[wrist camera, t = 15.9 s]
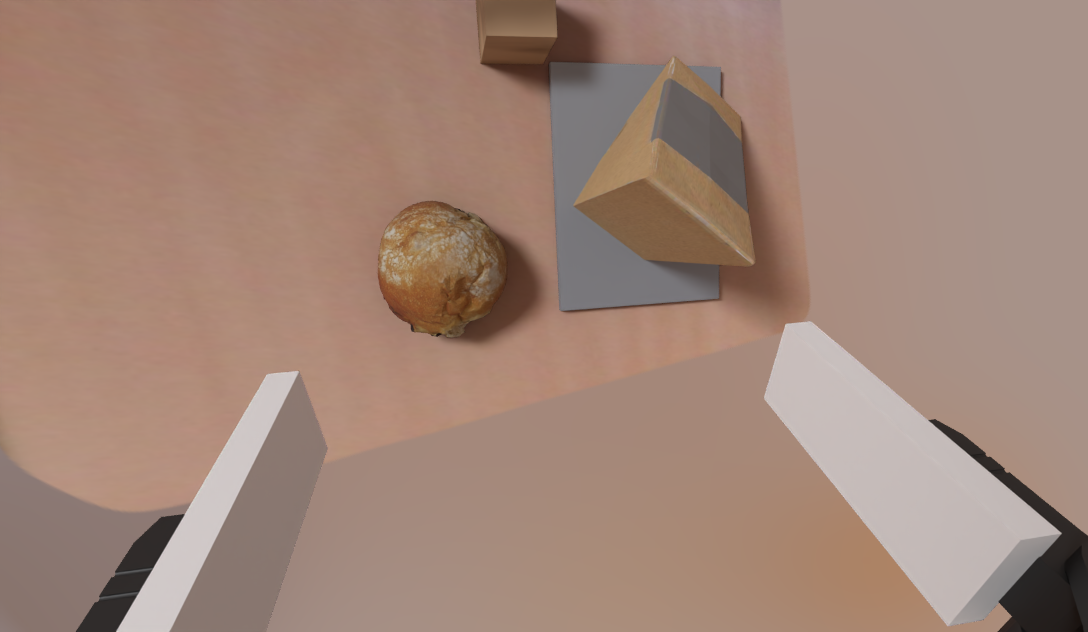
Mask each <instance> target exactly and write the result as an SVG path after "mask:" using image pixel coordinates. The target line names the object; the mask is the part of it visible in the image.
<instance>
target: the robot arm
mask: <svg viewBox="0 0 1088 632" xmlns="http://www.w3.org/2000/svg"><path fill="white" fill-rule="evenodd" d="M764 399H765V400H766V401H767V403H768V404H769V405H770V406H771V408H772V409H773V410H774V411H775V413H776V414H777V415H778V416H779V418H780V419H781V420H782V421H783V423H784V424H785V425H786V426H787V427H788V429H789V430H790V431H791V432H792V434H793V435H794V436H795V437H796V439H797V440H798V441H799V442H800V444H801V445H802V446H803V447H804V448H805V450H806V451H807V452H808V454H809V455H810V456H811V457H812V459H813V460H814V461H815V462H816V463H817V465H818V466H819V467H820V468H821V470H822V471H823V472H824V473H825V475H826V476H827V477H828V478H829V480H830V481H831V482H832V483H833V484H834V486H835V487H836V488H837V490H838V491H839V492H840V493H841V494H842V496H843V497H844V498H845V499H846V501H847V502H848V503H849V504H850V506H851V507H852V508H853V509H854V511H855V512H856V513H857V514H858V516H859V517H860V518H861V519H862V520H863V522H864V523H865V524H866V525H867V527H868V528H869V529H870V530H871V531H872V533H873V534H874V535H875V536H876V538H877V539H878V540H879V542H880V543H881V544H882V545H883V546H884V548H885V549H886V550H887V551H888V553H889V554H890V555H891V556H892V558H893V559H894V560H895V561H896V563H897V564H898V565H899V566H900V567H901V569H902V570H903V571H904V573H905V574H906V575H907V576H908V578H909V579H910V580H911V581H912V583H913V584H914V585H915V586H916V587H917V589H918V590H919V591H920V592H921V594H922V595H923V596H924V597H925V599H926V600H927V601H928V602H929V604H930V605H931V606H932V607H933V608H934V610H935V611H936V612H937V614H938V615H939V616H940V617H941V618H942V620H943V621H944V622H945V623H946V625H947V626H953V625H958V624H964V623H969V622H975V621H981V620H984V618H986V616H987V615H988V614H989V613H990V612H991V611H992V610H993V609H994V608H995V606H996V605H997V604H998V603H1000V604H1001V605H1002V606H1003V607H1004V608H1005V609H1006V610H1007V612H1008V613H1009V614H1010V615H1011V616H1012V617H1011V618H1010V619H1009V621H1007V622H1006V624H1005V625H1004V626H1003V627H1002V628H1001V629H1000V630H999V631H998V632H1088V536H1087V535H1086V534H1085V533H1083V532H1082V531H1081V530H1080V529H1078V528H1077V527H1076V526H1075V525H1073V524H1072V523H1071V522H1070V521H1068V520H1067V519H1066V518H1065V517H1063V516H1062V515H1061V514H1060V513H1059V512H1057V511H1056V510H1055V509H1054V508H1053V507H1051V506H1050V505H1049V504H1048V503H1046V502H1045V501H1044V500H1043V499H1041V498H1040V497H1039V496H1038V495H1037V494H1035V493H1034V492H1033V491H1032V490H1030V489H1029V488H1028V487H1027V486H1026V485H1024V484H1023V483H1022V482H1020V481H1019V480H1018V479H1017V478H1016V477H1014V476H1013V475H1012V474H1011V473H1006V472H1005V470H1004V468H1003V467H1002V466H1001V465H1000V464H998V463H997V462H996V461H995V460H994V459H992V458H991V457H987V456H986V455H985V454H986V453H985V452H984V451H983V450H981V449H980V448H979V447H978V446H976V445H975V444H974V443H973V442H971V441H970V440H969V439H968V438H967V437H965V436H964V435H963V434H961V433H959V432H957V431H956V430H954V429H952V428H950V427H948V426H946V425H944V424H943V423H941V422H939V421H937V420H935V419H934V420H927V419H926V418H925V417H924V416H922V415H921V414H920V413H919V412H917V411H916V410H915V409H914V408H913V407H912V406H911V405H909V404H908V403H907V402H906V401H904V400H903V399H902V398H901V397H900V396H899V395H898V394H896V393H895V392H894V391H893V390H892V389H890V388H889V387H888V386H887V385H886V384H884V383H883V382H882V381H881V380H880V379H879V378H877V377H876V376H875V375H874V374H873V373H871V372H870V371H869V370H868V369H867V368H866V367H864V366H863V365H862V364H861V363H860V362H858V361H857V360H856V359H855V358H854V357H852V356H851V355H850V354H849V353H848V352H847V351H845V350H844V349H843V348H842V347H841V346H839V345H838V344H837V343H836V342H835V341H833V340H832V339H831V338H830V337H829V336H827V334H825V333H824V332H823V331H822V330H820V329H819V328H818V327H817V326H816V325H815V324H813V323H812V322H811V321H810V322H800V323H790V324H786V325H785V328H784V332H783V335H782V339H781V342H780V345H779V349H778V352H777V356H776V359H775V362H774V366H773V369H772V373H771V376H770V380H769V383H768V386H767V389H766V393H765V396H764ZM327 449H328V447H327V445H326V442H325V439H324V437H323V434H322V431H321V428H320V426H319V423H318V420H317V418H316V415H315V412H314V409H313V407H312V404H311V401H310V399H309V396H308V393H307V390H306V388H305V385H304V382H303V380H302V377H301V374H300V372H299V371H294V372H283V373H273V374H267V375H266V377H265V379H264V381H263V382H262V384H261V386H260V387H259V389H258V391H257V392H256V394H255V396H254V398H253V399H252V401H251V403H250V404H249V406H248V408H247V410H246V411H245V413H244V415H243V416H242V418H241V420H240V421H239V423H238V425H237V427H236V428H235V430H234V432H233V433H232V435H231V437H230V439H229V440H228V442H227V444H226V445H225V447H224V449H223V450H222V452H221V454H220V456H219V457H218V459H217V461H216V462H215V464H214V466H213V467H212V469H211V471H210V473H209V474H208V476H207V478H206V479H205V481H204V483H203V485H202V486H201V488H200V490H199V491H198V493H197V495H196V496H195V498H194V500H193V502H192V503H191V505H190V507H189V508H188V510H187V512H186V514H182V515H174V516H166V517H161V518H160V519H159V520H158V521H157V522H156V523H154V524H153V525H152V526H151V527H150V528H149V529H148V530H147V531H146V532H145V533H144V534H143V535H142V536H141V537H140V538H139V539H138V540H136V541H135V542H134V544H133V545H132V547H131V548H130V550H129V551H128V553H127V554H126V556H125V557H124V559H123V560H122V562H121V564H120V565H119V566H118V568H117V570H116V571H115V576H114V577H112V578H111V579H110V580H109V582H108V583H107V585H106V586H105V588H104V589H103V591H102V593H101V594H100V596H99V597H100V599H99V601H98V602H95V603H94V605H93V606H92V608H91V609H90V611H89V613H88V614H87V615H86V617H85V619H84V620H83V622H82V623H81V625H80V626H79V628H78V629H77V631H76V632H266V630H267V627H268V624H269V621H270V618H271V615H272V612H273V609H274V606H275V603H276V600H277V597H278V594H279V591H280V588H281V585H282V582H283V580H284V577H285V573H286V571H287V568H288V565H289V562H290V559H291V555H292V553H293V550H294V547H295V544H296V541H297V538H298V535H299V532H300V529H301V526H302V523H303V520H304V517H305V514H306V511H307V508H308V505H309V502H310V499H311V496H312V493H313V490H314V488H315V484H316V482H317V478H318V475H319V473H320V470H321V467H322V464H323V461H324V458H325V455H326V452H327Z"/></svg>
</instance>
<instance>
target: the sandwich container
mask: <svg viewBox="0 0 1088 632" xmlns="http://www.w3.org/2000/svg"><path fill="white" fill-rule="evenodd" d="M573 206H574V207H575V208H576V209H578V210H579V211H580V212H582V213H583V214H584V215H586V216H587V217H588V218H590V219H591V220H592V221H594V222H595V223H596V224H598V225H599V226H600V227H601V228H603V229H604V230H605V231H607V232H608V233H609V234H610V235H612V236H613V237H615V238H616V239H617V240H619V241H620V242H621V243H623V244H624V245H625V246H627V247H628V248H629V249H631V250H632V251H633V252H635V253H636V254H637V255H639V256H640V257H641V258H643V259H644V260H655V261H669V262H684V263H700V264H715V265H731V266H746V267H751V266H753V265H754V264H755V263H756V260H755V254H754V247H753V240H752V233H751V226H750V219H749V212H748V204H747V194H746V181H745V171H744V160H743V149H742V136H741V117H740V116H739V115H738V114H737V113H736V112H735V111H734V110H733V109H732V108H731V107H730V106H729V105H728V104H727V103H726V102H725V101H724V100H723V99H722V98H721V97H720V96H719V95H718V94H717V93H716V92H715V91H714V90H713V89H712V88H711V87H710V86H709V85H708V84H707V83H706V82H705V81H704V80H702V79H701V78H700V77H699V76H698V75H697V74H695V73H694V72H693V71H692V70H691V69H689V68H688V67H687V66H686V65H685V64H684V63H682V62H681V61H680V60H679V59H678V58H677V57H675V56H673V57H672V58H671V59H670V61H669V62H668V64H667V65H666V66H665V68H664V69H663V71H662V72H661V73H660V75H659V76H658V78H657V79H656V80H655V82H654V83H653V85H652V86H651V87H650V89H649V90H648V92H647V93H646V95H645V96H644V97H643V99H642V100H641V102H640V103H639V104H638V106H637V107H636V109H635V110H634V111H633V113H632V114H631V116H630V117H629V118H628V120H627V121H626V123H625V125H624V126H623V128H622V129H621V131H620V132H619V134H618V135H617V137H616V138H615V140H614V141H613V143H612V144H611V146H610V147H609V149H608V150H607V152H606V153H605V155H604V156H603V157H602V159H601V160H600V162H599V163H598V165H597V167H596V168H595V170H594V172H593V173H592V175H591V177H590V178H589V180H588V182H587V183H586V185H585V186H584V188H583V190H582V191H581V193H580V195H579V196H578V198H577V200H576V201H575V203H574V205H573Z"/></svg>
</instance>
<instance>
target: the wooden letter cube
mask: <svg viewBox="0 0 1088 632" xmlns="http://www.w3.org/2000/svg"><path fill="white" fill-rule="evenodd" d="M476 12H477V24H478V37H479V49H480V62H481V64H543V63H544V61H545V59H546V57H547V56H548V54H549V52H550V50H551V48H552V46H553V44H554V43H555V41H556V39H557V17H556V0H476Z"/></svg>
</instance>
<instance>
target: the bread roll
mask: <svg viewBox="0 0 1088 632" xmlns="http://www.w3.org/2000/svg"><path fill="white" fill-rule="evenodd" d="M378 261H379V263H378V279H379V285H380V289H381V292H382V294H383V296H384V299H385V300H386V301H387V303H388V305H389V308H390V309H391V310H392V312H393V313H394V314H395V315H396V316H397V317H398V318H400V319H401V320H403V321H405V322H408V323H409V324H410V325H411V331H412V332H421V333H428V334H431V336H436V337H437V336H439V335H442V334H444V335H446V337H448V338H453V337H459V336H460V335H461V334H463V333H464V332H465V331H464V327H465V326H466V325H467V324H468V323H469V322H470V321H472V320H477V319H479V318H482V317H485V315H486V314H489V313H490V311H491V309H492V307H493V304H494V303H495V302H496V301H497V300H498V299H499V297H500V296H501V294H502V291H503V289H504V287H505V284H506V280H507V278H506V277H507V258H506V252H505V249H504V247H503V246H502V244H501V243H500V241H499V239H498V237H497V236H496V235H495V233H493V232H492V231H491V230H490V228H489V227H488V226H487V225H485V224H484V223H483V222H482V220H481V219H480V218H479V217H478V216H477V215H475V214H472V213H470V212H469V213H468V215H467V214H466V213H465V212H463V211H461V210H460V209H456V208H454V207H452V206H450V205H448V204H446V203H443V202H437V201H425V202H420V203H417V204H414V205H412V206H409V207H407V208H406V209H404V210H403V211H401V212H400V213H399V214H398V215H397V216H396V217H395V218H394V219H393V220H392V221H391V222H390V223H389V224H388V226H387V227H386V229H385V231H384V234H383V237H382V239H381V244H380V250H379V255H378Z"/></svg>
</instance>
